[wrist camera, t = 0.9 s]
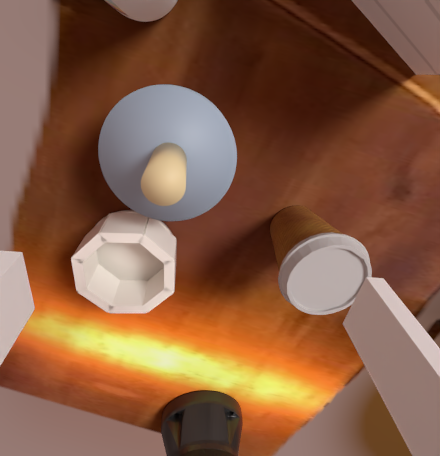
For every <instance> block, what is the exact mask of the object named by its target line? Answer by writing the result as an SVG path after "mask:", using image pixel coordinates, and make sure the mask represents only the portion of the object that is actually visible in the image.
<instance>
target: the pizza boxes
mask: <svg viewBox="0 0 440 456" xmlns="http://www.w3.org/2000/svg"><path fill="white" fill-rule="evenodd" d="M352 2H353V3H354V4H355V5H356V6H357V7H358V8H359V10H360V11H361V12H362V13H363V14H364V15H365V17H366V18H367V19H368V20H369V21H370V22H371V23H372V25H373V26H374V27H375V28H376V29H377V30H378V31H379V33H380V34H381V35H382V36H383V37H384V38H385V40H386V41H387V42H388V43H389V44H390V45H391V46H392V48H393V49H394V50H395V51H396V52H397V53H398V55H399V56H400V57H401V58H402V59H403V60H404V61H405V63H406V64H407V65H408V66H409V67H410V68H411V69H412V71H413V72H414V73H415V74H425V75H440V0H352Z"/></svg>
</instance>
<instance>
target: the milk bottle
mask: <svg viewBox="0 0 440 456" xmlns="http://www.w3.org/2000/svg"><path fill="white" fill-rule="evenodd" d="M104 1H106V2H107V3H108V4H109V5H111V6H112V7H113V8H114V9H116V10H117V11H118V12H120V13H121V14H123V15H124V16H126V17H128V18H130V19H133V20H136V21H141V22H149V21H154V20H158V19H160V18H162V17H163V16H165V15H166V14H168V13H169V12H170V11H171V10H172V8H173V7H174V6H175V4H176V3H177V1H178V0H104Z"/></svg>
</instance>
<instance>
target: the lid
mask: <svg viewBox="0 0 440 456" xmlns="http://www.w3.org/2000/svg"><path fill="white" fill-rule="evenodd" d="M98 155H99V162H100V166H101V170H102V173H103V175H104V178H105V180H106V182H107V184H108V185H109V187H110V188H111V190H112V191H113V193H114V194H115V195H116V196H117V197H118V198H119V199H120V200H121V201H122V202H123V203H124V204H125V205H127V206H128V207H129V208H131V209H132V210H134V211H135V212H137V213H139V214H141V215H143V216H146V217H149V218H152V219H156V220H162V221H181V220H186V219H190V218H194V217H196V216H199V215H201V214H203V213H205V212H206V211H208V210H209V209H211V208H212V207H214V206H215V205H216V204H217V203H218V202H219V201H220V200H221V199H222V197H223V196H224V195H225V194H226V192H227V190H228V189H229V187H230V185H231V183H232V180H233V177H234V174H235V170H236V164H237V150H236V144H235V139H234V136H233V133H232V130H231V128H230V126H229V124H228V122H227V120H226V119H225V117H224V116H223V115H222V113H221V112H220V111H219V109H218V108H217V107H216V106H215V105H214V104H213V103H212V102H210V101H209V100H208V99H207V98H205V97H204V96H202V95H201V94H199V93H197V92H195V91H193V90H191V89H188V88H185V87H182V86H177V85H170V84H160V85H152V86H148V87H144V88H141V89H139V90H137V91H134V92H132V93H130V94H129V95H127V96H126V97H124V98H123V99H122V100H121V101H119V102H118V103H117V104H116V105H115V106H114V108H113V109H112V110H111V111H110V113H109V114H108V116H107V118H106V119H105V121H104V124H103V126H102V129H101V133H100V136H99V144H98Z"/></svg>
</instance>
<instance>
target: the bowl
mask: <svg viewBox="0 0 440 456" xmlns="http://www.w3.org/2000/svg"><path fill="white" fill-rule="evenodd" d="M71 262H72V268H73V274H74V280H75V285H76V291H78V293H79V294H81V295H82V296H84V297H85V298H87V299H88V300H89V301H91V302H92V303H94V304H95V305H97V306H98V307H100V308H101V309H103V310H104V311H106V312H107V313H108V312H109V313H146V312H149V311H151V310H152V309H153V308H155V307H156V306H157V305H159V304H160V303H161V302H162V301H164V300H165V299H166V298H168V297H169V296H170V295H172V294H173V293H174V288H175V274H176V238H175V237H174V236H173V234H172V232H171V231H170V229H169V228H168V227H167V226H166V225H165V224H164V223H163V222H162V221H161V220H156V219H152V218H149V217H146V216H143V215H141V214H139V213H137V212H135V211H134V210H123V211H118V212H114V213H111V214H110V213H109V214H108V215H107V216H105V217H104V218H102V219H101V220H100V221H99V222H98V223H97V224H96V225H95V227H94V228H93V229H92V230H91V231H90V232H89V233H87V234H86V235H85V237H84V239H83V240H82V242H81V243H80V245H79V246H78V248H77V250H76V251H75V253H74V254H73V256H72V258H71Z"/></svg>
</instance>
